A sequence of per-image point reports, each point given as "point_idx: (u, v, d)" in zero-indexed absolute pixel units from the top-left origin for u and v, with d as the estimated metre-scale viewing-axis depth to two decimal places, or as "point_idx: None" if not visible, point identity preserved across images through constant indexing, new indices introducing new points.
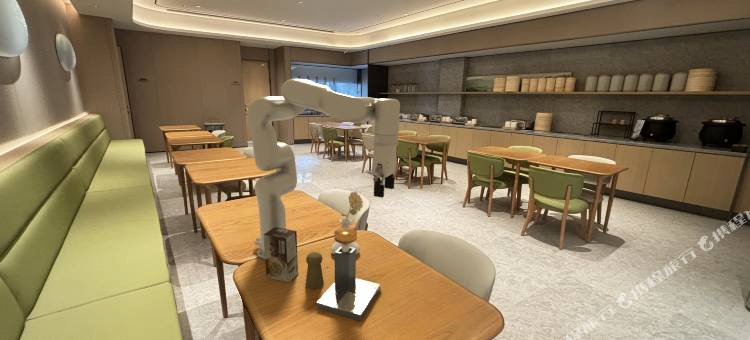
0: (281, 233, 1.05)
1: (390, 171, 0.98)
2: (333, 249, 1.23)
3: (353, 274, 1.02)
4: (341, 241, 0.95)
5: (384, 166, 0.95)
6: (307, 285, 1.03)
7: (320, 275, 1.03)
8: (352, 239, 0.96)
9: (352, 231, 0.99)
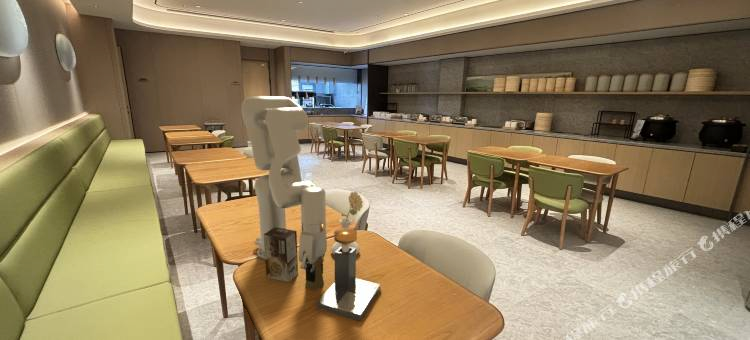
0: (281, 233, 1.05)
1: (318, 256, 1.01)
2: (333, 249, 1.23)
3: (353, 274, 1.02)
4: (341, 241, 0.95)
5: (309, 254, 0.97)
6: (307, 285, 1.03)
7: (320, 275, 1.03)
8: (352, 239, 0.96)
9: (352, 231, 0.99)
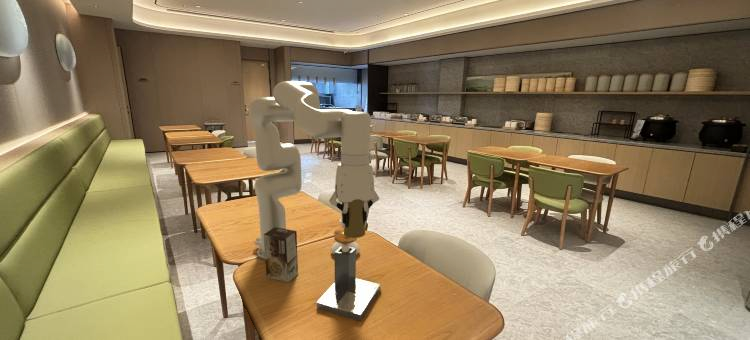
0: (281, 233, 1.05)
1: (352, 197, 0.83)
2: (333, 249, 1.23)
3: (353, 274, 1.02)
4: (341, 241, 0.95)
5: (338, 189, 0.82)
6: (344, 229, 0.88)
7: (355, 223, 0.85)
8: (352, 239, 0.96)
9: None
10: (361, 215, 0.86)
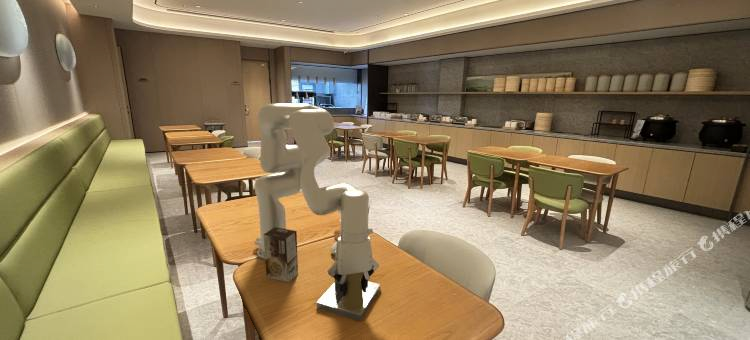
0: (281, 233, 1.05)
1: (352, 270, 0.88)
2: (333, 249, 1.23)
3: None
4: None
5: (338, 263, 0.87)
6: None
7: (354, 294, 0.90)
8: None
9: None
10: (359, 287, 0.91)
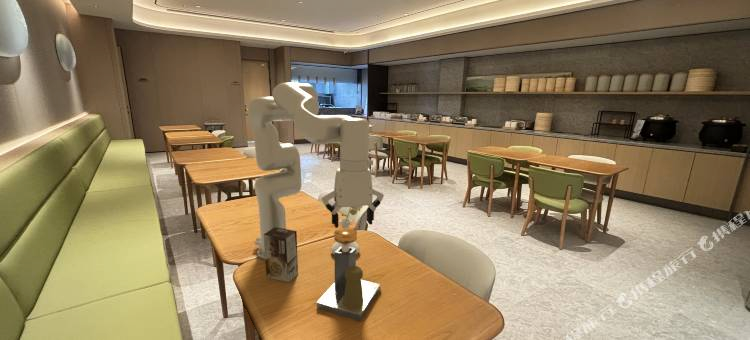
0: (281, 233, 1.05)
1: (351, 202, 0.85)
2: (333, 249, 1.23)
3: None
4: (341, 241, 0.95)
5: (336, 194, 0.84)
6: None
7: (354, 295, 0.90)
8: (352, 239, 0.96)
9: (352, 231, 0.99)
10: (359, 287, 0.91)
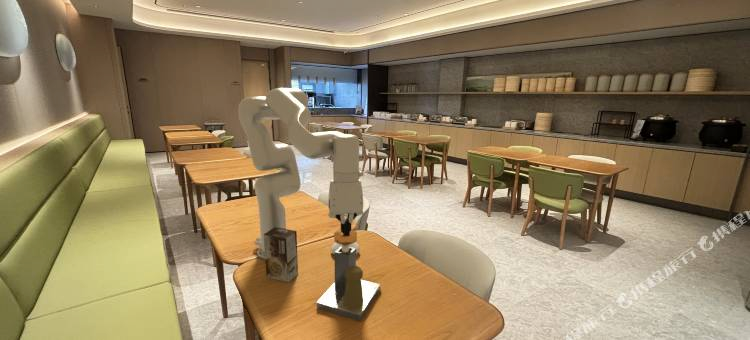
0: (281, 233, 1.05)
1: (344, 210, 0.94)
2: (333, 249, 1.23)
3: None
4: (341, 242, 0.95)
5: (330, 203, 0.93)
6: None
7: (354, 295, 0.90)
8: (352, 240, 0.96)
9: (352, 232, 0.99)
10: (359, 287, 0.91)
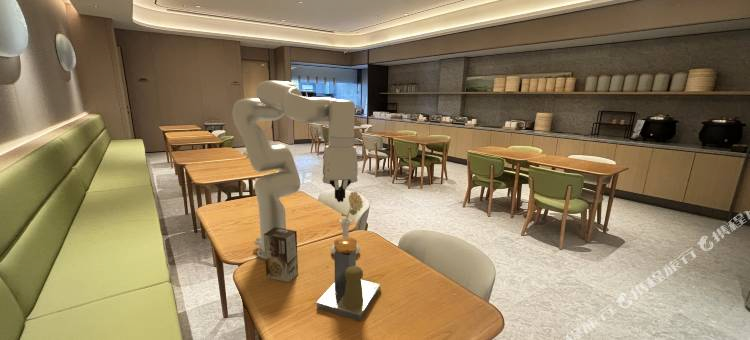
0: (281, 233, 1.05)
1: (338, 175, 0.94)
2: (333, 249, 1.23)
3: None
4: (341, 251, 0.96)
5: (325, 168, 0.93)
6: None
7: (354, 295, 0.90)
8: (352, 249, 0.97)
9: (352, 240, 1.00)
10: (359, 287, 0.91)
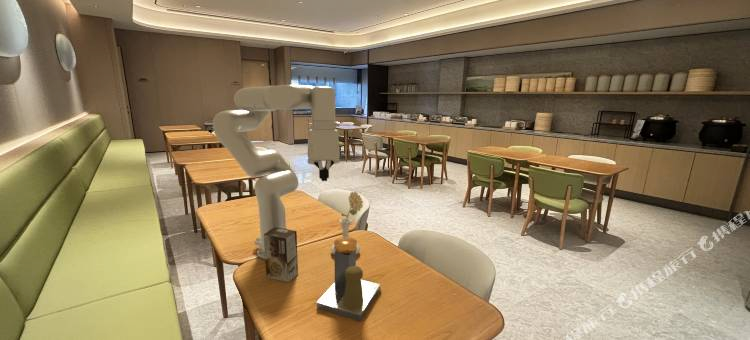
0: (281, 233, 1.05)
1: (321, 156, 1.03)
2: (333, 249, 1.23)
3: None
4: (341, 251, 0.96)
5: (309, 149, 1.02)
6: None
7: (354, 295, 0.90)
8: (352, 249, 0.97)
9: (352, 240, 1.00)
10: (359, 287, 0.91)
